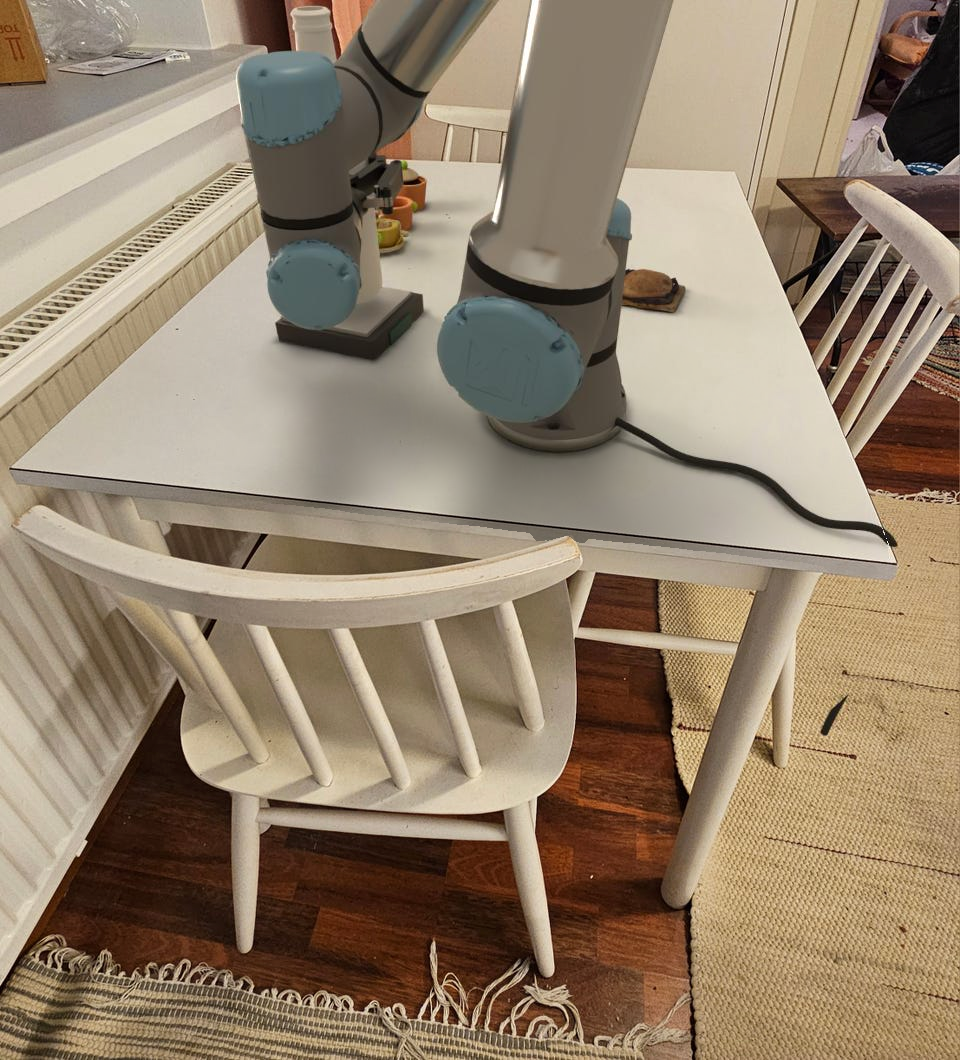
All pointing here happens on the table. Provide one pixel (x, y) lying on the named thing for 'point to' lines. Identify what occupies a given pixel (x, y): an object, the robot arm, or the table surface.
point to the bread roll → (651, 290)
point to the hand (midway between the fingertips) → (333, 155)
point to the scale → (361, 326)
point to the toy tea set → (401, 211)
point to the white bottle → (318, 38)
